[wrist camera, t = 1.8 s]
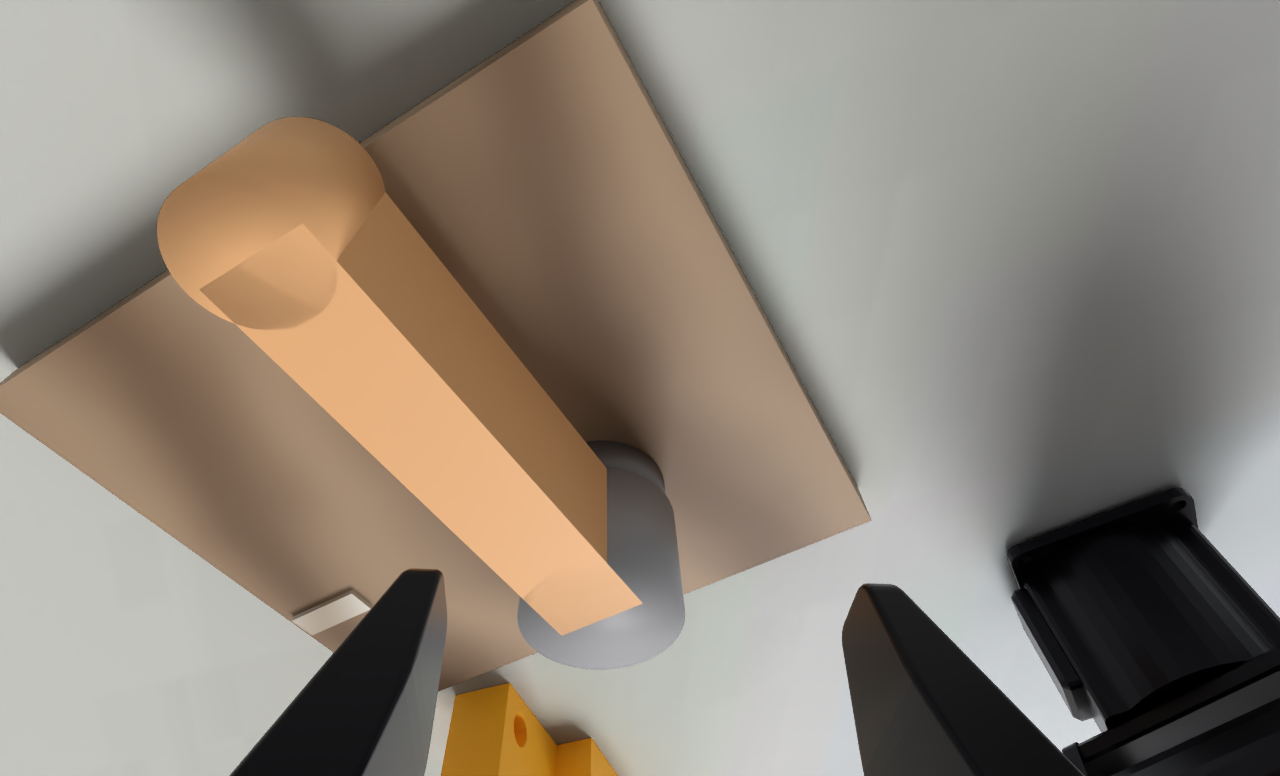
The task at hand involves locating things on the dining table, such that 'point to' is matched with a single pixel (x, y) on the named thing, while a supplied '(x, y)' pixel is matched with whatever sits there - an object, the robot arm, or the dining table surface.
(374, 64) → the dining table surface
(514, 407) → the latch lever
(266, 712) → the dining table surface
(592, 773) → the pipe clamp
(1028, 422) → the dining table surface
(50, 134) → the dining table surface
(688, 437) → the mount plate
